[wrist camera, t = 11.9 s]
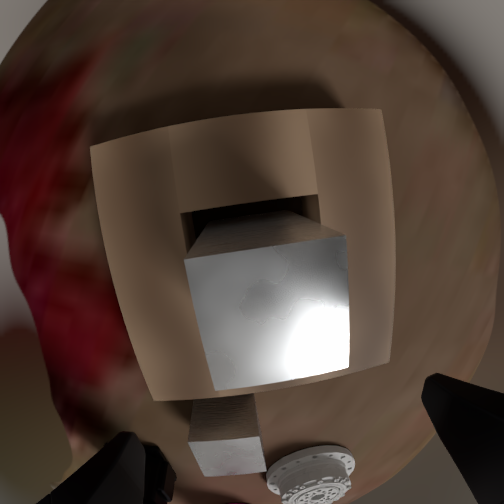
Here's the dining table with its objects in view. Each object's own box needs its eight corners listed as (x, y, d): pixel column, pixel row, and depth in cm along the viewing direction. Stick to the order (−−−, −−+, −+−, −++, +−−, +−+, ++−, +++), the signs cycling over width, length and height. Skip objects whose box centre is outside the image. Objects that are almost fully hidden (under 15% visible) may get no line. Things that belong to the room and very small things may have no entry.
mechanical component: (313, 432, 23) (247, 476, 25) (324, 465, 19) (249, 506, 20) (367, 454, 25) (306, 493, 27) (379, 480, 21) (312, 518, 22)
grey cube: (207, 435, 22) (204, 476, 18) (193, 398, 21) (187, 442, 16) (260, 430, 23) (266, 471, 18) (253, 392, 21) (259, 436, 17)
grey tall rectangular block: (221, 294, 19) (215, 390, 10) (209, 221, 18) (183, 259, 8) (295, 283, 20) (348, 366, 10) (286, 209, 18) (346, 235, 9)
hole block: (164, 368, 20) (153, 400, 16) (116, 153, 17) (90, 146, 13) (366, 335, 21) (389, 362, 17) (353, 122, 17) (381, 109, 13)
